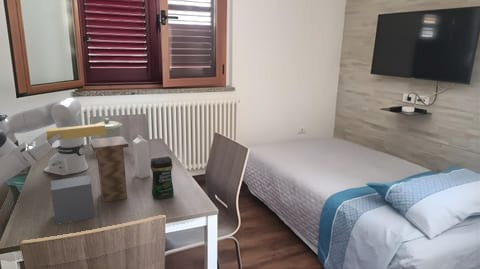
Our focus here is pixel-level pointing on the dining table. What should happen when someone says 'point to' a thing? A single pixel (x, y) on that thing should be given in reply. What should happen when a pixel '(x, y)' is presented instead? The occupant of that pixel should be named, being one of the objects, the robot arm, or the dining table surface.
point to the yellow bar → (77, 131)
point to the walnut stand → (111, 167)
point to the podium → (72, 199)
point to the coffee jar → (162, 177)
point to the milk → (141, 157)
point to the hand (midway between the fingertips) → (60, 132)
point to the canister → (110, 129)
